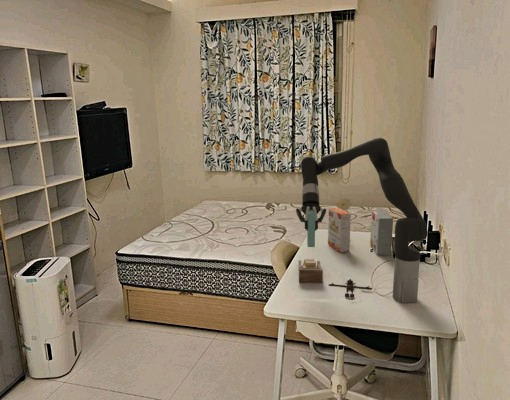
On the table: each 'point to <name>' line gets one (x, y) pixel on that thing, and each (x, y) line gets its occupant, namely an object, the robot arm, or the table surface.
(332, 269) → the table surface
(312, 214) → the teal board
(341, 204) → the flower in vase
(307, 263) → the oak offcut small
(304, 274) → the walnut rack
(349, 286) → the long-limbed plush toy
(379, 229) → the hard drive box
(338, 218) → the cracker box
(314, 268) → the oak offcut large
